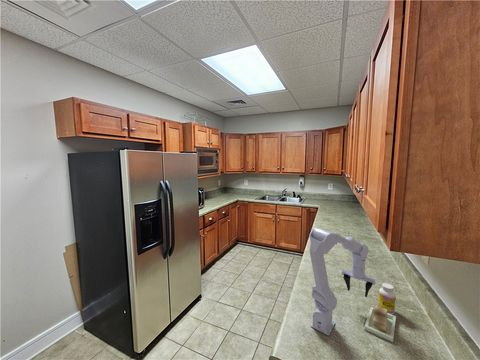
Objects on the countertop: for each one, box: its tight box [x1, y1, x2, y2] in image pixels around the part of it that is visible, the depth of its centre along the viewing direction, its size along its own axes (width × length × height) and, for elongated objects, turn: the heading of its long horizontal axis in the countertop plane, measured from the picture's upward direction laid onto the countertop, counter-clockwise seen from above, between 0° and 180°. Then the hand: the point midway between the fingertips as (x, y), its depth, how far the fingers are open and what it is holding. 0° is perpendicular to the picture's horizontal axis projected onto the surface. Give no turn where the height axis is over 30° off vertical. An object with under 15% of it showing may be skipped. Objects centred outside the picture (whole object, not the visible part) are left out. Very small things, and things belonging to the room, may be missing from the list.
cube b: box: [374, 305, 387, 319], centre depth 95 cm, size 4×4×4 cm
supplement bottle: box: [377, 282, 397, 315], centre depth 101 cm, size 7×7×13 cm
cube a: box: [373, 314, 387, 334], centre depth 89 cm, size 4×4×4 cm
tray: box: [364, 306, 397, 344], centre depth 92 cm, size 16×10×2 cm, turn 139°
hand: (357, 292), depth 101 cm, fingers open, 7 cm apart
